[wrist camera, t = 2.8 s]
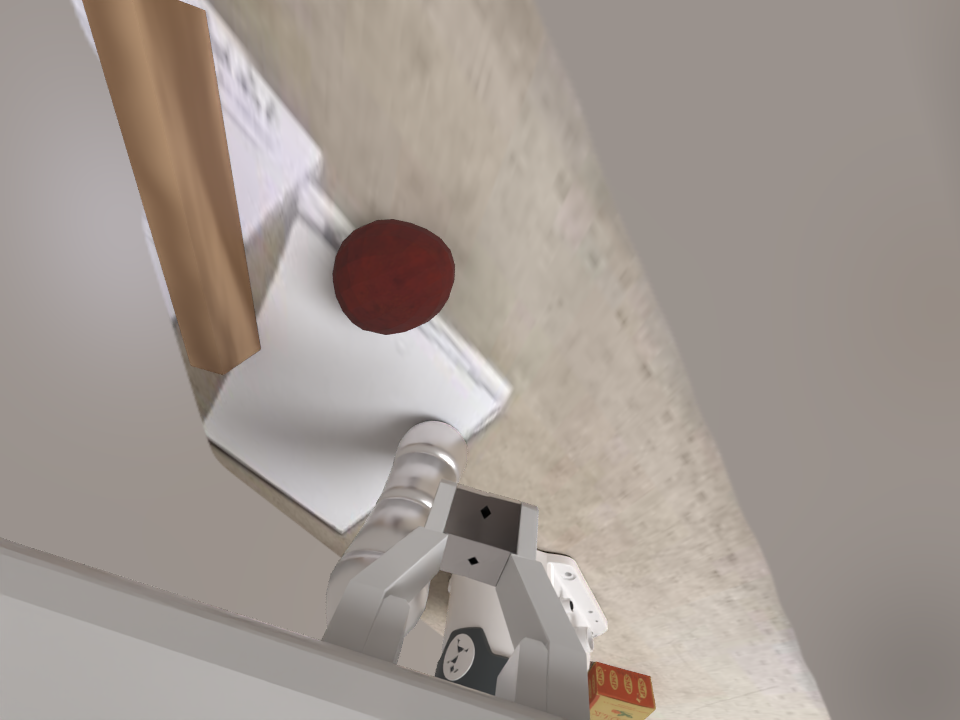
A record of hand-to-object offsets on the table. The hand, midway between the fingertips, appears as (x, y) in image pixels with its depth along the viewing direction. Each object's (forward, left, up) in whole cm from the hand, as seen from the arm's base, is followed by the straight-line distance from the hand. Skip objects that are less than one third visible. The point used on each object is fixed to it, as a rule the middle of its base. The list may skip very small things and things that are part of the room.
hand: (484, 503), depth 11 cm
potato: (+7, +6, -19) cm, 21 cm away
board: (+18, +16, -18) cm, 31 cm away
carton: (-62, +25, -19) cm, 69 cm away
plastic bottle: (-8, +15, -19) cm, 25 cm away
